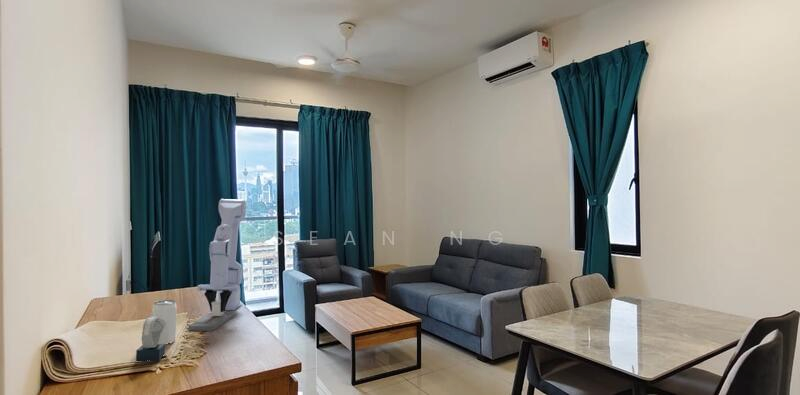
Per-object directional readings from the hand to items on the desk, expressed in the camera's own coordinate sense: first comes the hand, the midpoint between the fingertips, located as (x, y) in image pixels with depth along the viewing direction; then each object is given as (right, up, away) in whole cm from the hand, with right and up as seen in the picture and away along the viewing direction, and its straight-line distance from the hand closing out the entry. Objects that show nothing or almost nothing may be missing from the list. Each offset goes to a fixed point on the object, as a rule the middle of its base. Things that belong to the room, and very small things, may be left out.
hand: (217, 311), depth 148 cm
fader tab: (0, -1, 0) cm, 1 cm away
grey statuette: (-1, -3, -38) cm, 38 cm away
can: (-5, -3, -25) cm, 26 cm away
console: (0, -3, -4) cm, 5 cm away
